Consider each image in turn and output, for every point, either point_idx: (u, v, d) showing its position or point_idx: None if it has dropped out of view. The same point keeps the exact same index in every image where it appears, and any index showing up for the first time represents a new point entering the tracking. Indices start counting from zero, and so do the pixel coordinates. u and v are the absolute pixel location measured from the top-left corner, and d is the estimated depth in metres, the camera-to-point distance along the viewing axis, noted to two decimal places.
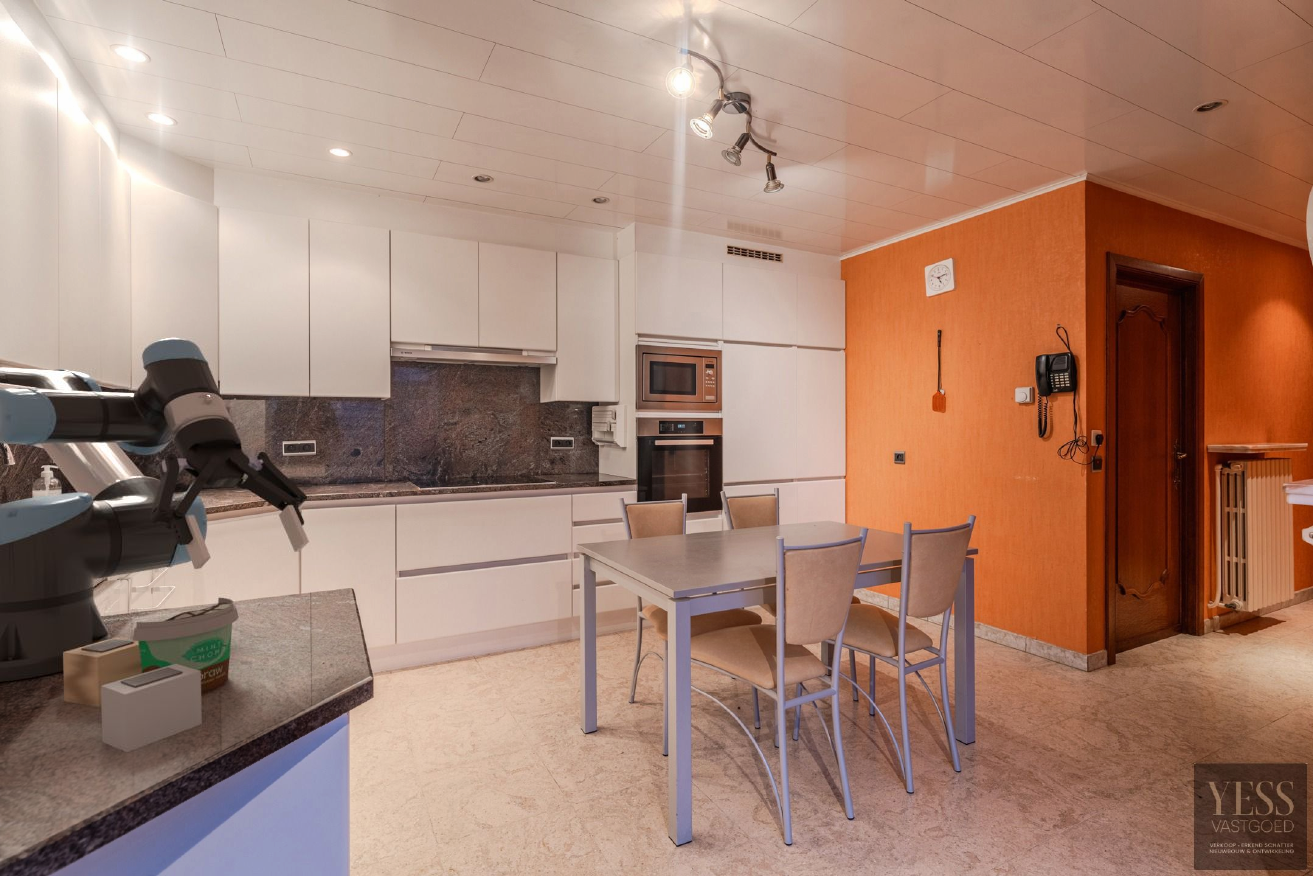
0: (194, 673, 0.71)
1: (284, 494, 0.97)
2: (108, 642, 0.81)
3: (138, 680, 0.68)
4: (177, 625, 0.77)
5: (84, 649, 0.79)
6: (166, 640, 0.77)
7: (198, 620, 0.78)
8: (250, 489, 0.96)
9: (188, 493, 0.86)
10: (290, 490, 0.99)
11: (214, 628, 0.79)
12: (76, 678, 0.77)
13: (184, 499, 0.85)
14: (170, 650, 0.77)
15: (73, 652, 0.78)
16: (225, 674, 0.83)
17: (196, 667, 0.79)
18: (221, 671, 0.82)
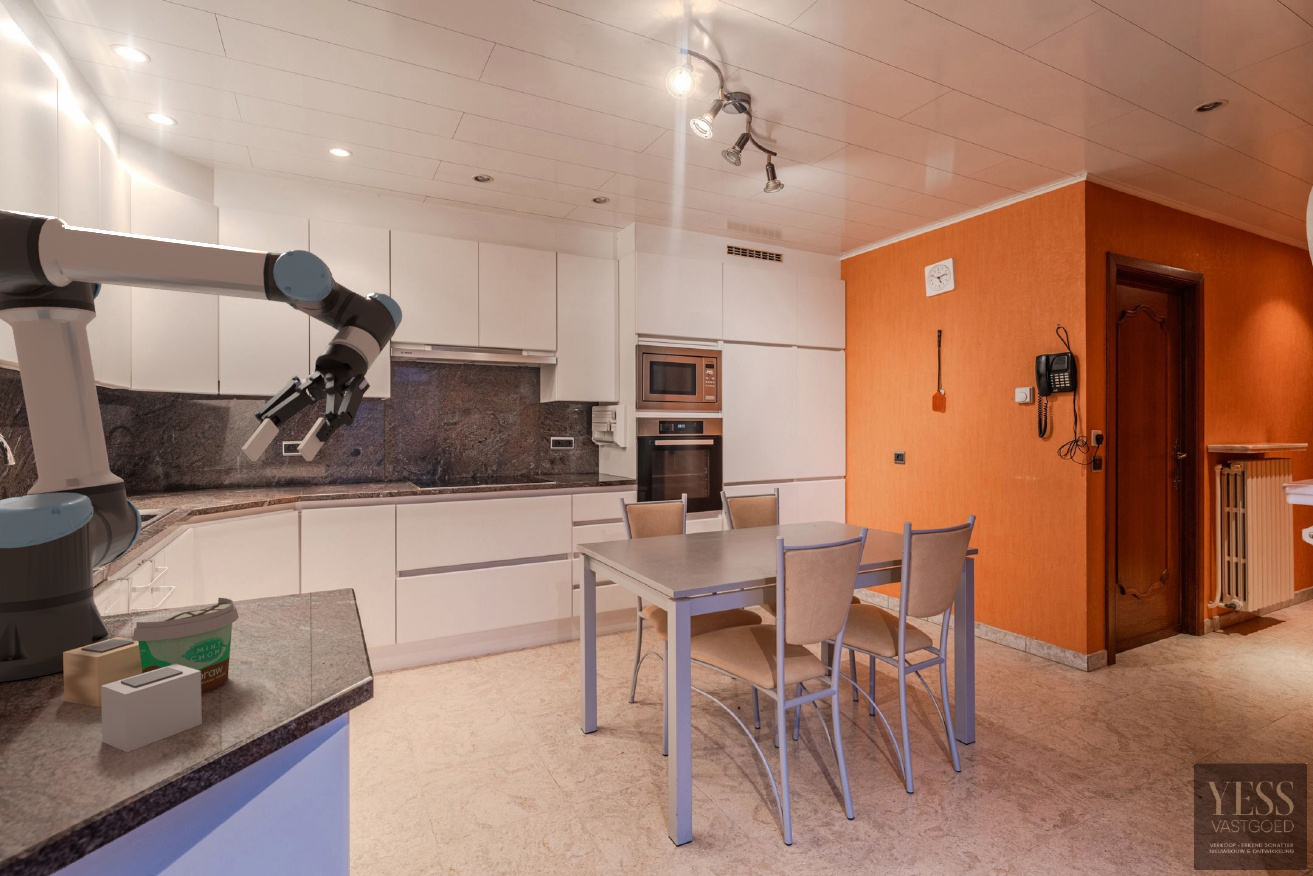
0: (194, 673, 0.71)
1: None
2: (108, 642, 0.81)
3: (138, 680, 0.68)
4: (177, 625, 0.77)
5: (84, 649, 0.79)
6: (166, 640, 0.77)
7: (198, 620, 0.78)
8: (298, 396, 1.04)
9: None
10: None
11: (214, 628, 0.79)
12: (76, 678, 0.77)
13: None
14: (170, 650, 0.77)
15: (73, 652, 0.78)
16: (225, 674, 0.83)
17: (196, 667, 0.79)
18: (221, 671, 0.82)
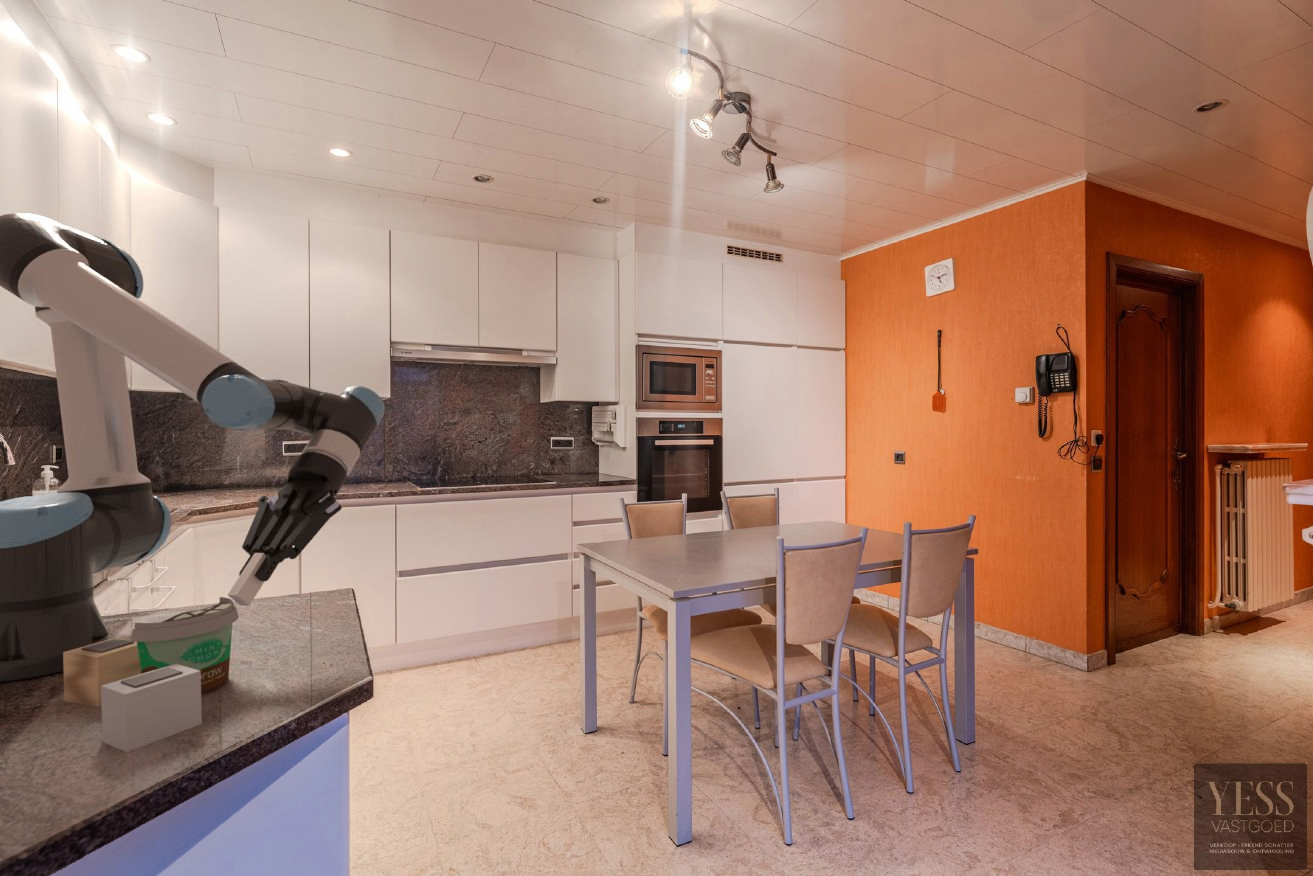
0: (194, 673, 0.71)
1: None
2: (108, 642, 0.81)
3: (138, 680, 0.68)
4: (175, 626, 0.76)
5: (84, 649, 0.79)
6: (164, 641, 0.76)
7: (196, 621, 0.78)
8: (280, 517, 0.93)
9: None
10: None
11: (212, 629, 0.79)
12: (76, 678, 0.77)
13: None
14: (168, 651, 0.77)
15: (73, 652, 0.78)
16: (225, 674, 0.82)
17: (194, 668, 0.78)
18: (220, 672, 0.81)
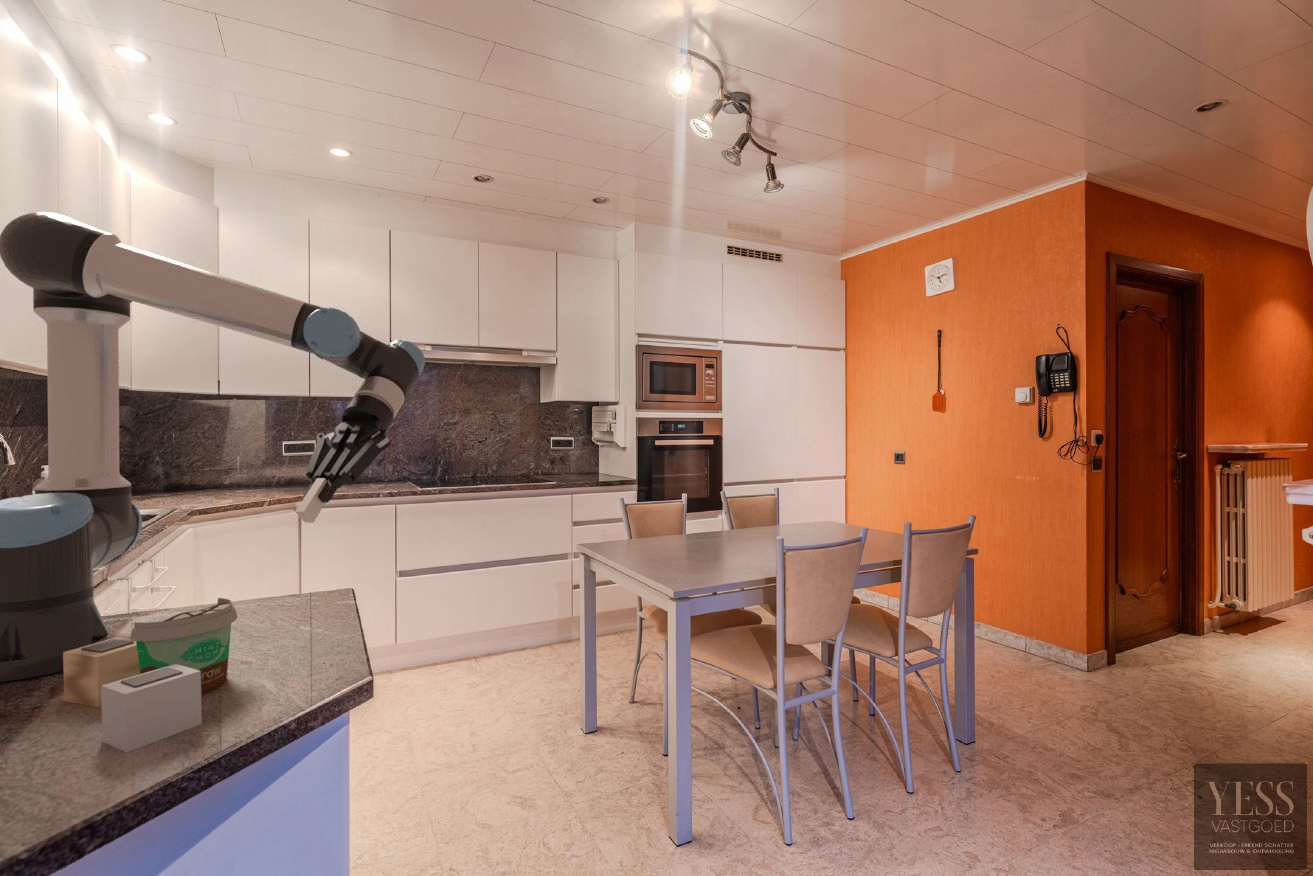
0: (194, 673, 0.71)
1: None
2: (108, 642, 0.81)
3: (138, 680, 0.68)
4: (175, 625, 0.77)
5: (84, 649, 0.79)
6: (164, 640, 0.76)
7: (196, 621, 0.78)
8: (337, 450, 1.05)
9: None
10: None
11: (212, 629, 0.79)
12: (76, 678, 0.77)
13: None
14: (168, 651, 0.77)
15: (73, 652, 0.78)
16: (224, 675, 0.82)
17: (194, 668, 0.78)
18: (219, 672, 0.81)
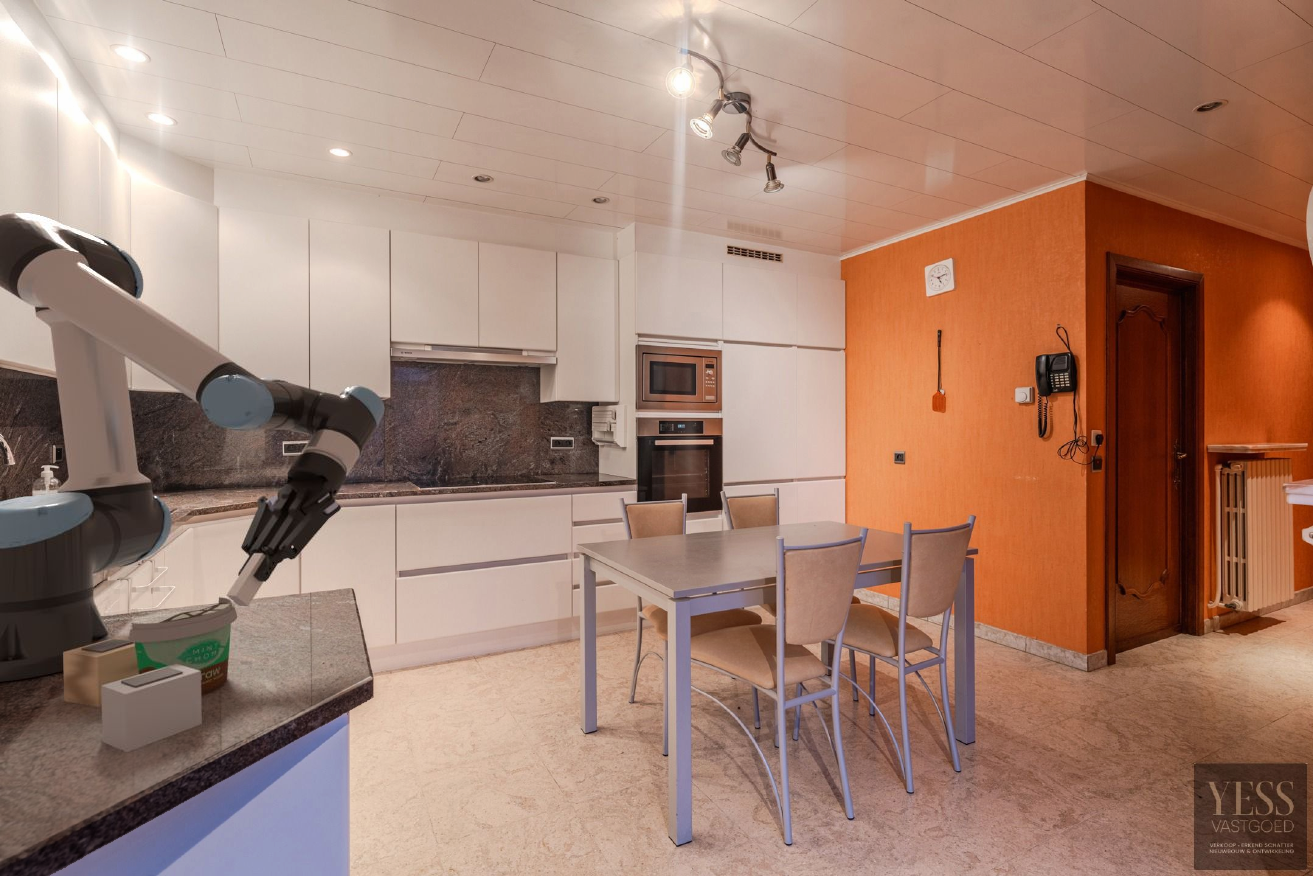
0: (194, 673, 0.71)
1: None
2: (108, 642, 0.81)
3: (138, 680, 0.68)
4: (172, 627, 0.76)
5: (84, 649, 0.79)
6: (161, 642, 0.76)
7: (193, 622, 0.78)
8: (280, 517, 0.93)
9: None
10: None
11: (210, 630, 0.79)
12: (76, 678, 0.77)
13: None
14: (165, 652, 0.76)
15: (73, 652, 0.78)
16: (223, 675, 0.82)
17: None
18: (219, 672, 0.81)
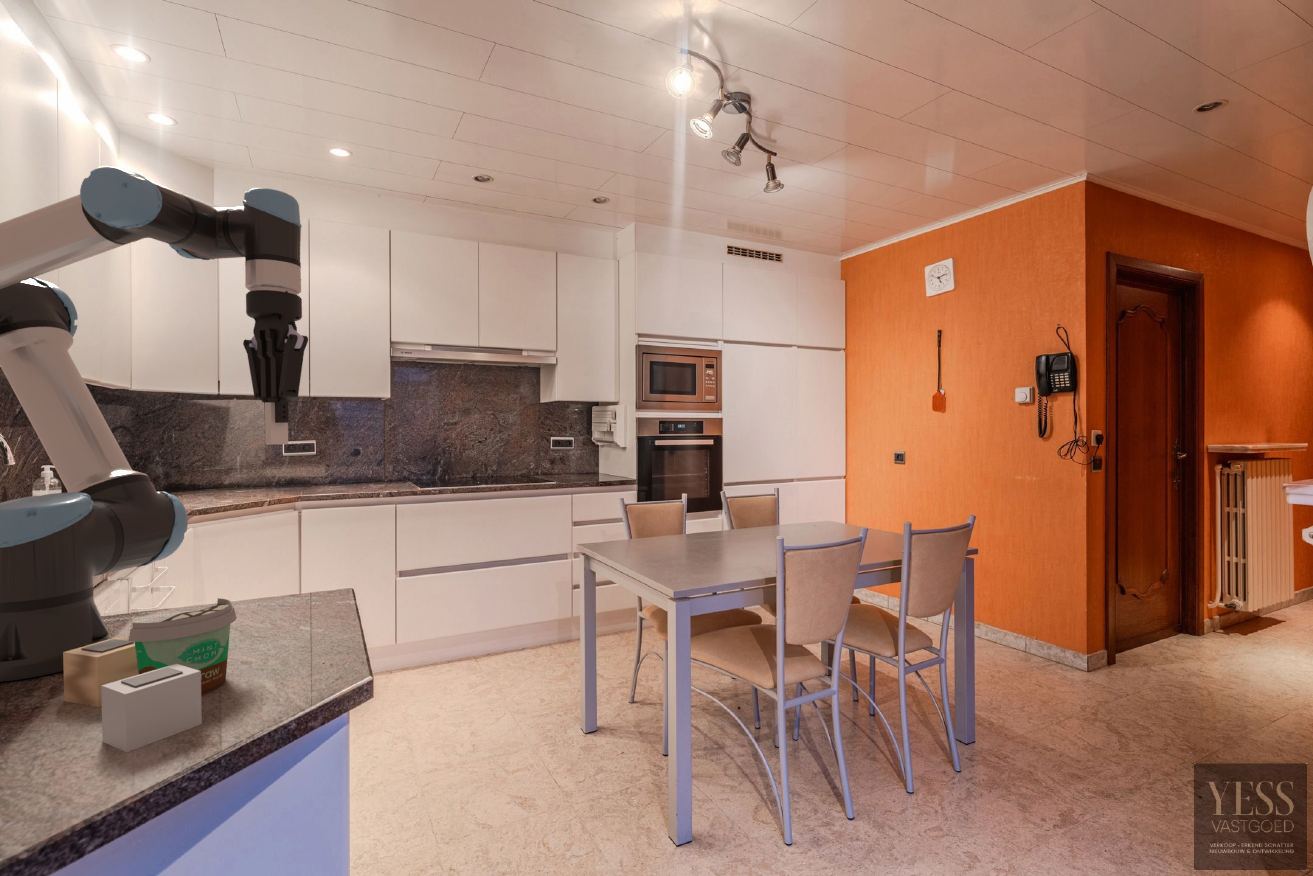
0: (194, 673, 0.71)
1: None
2: (108, 642, 0.81)
3: (138, 680, 0.68)
4: (173, 626, 0.76)
5: (84, 649, 0.79)
6: (162, 641, 0.76)
7: (194, 621, 0.78)
8: (266, 362, 1.00)
9: None
10: None
11: (210, 629, 0.79)
12: (76, 678, 0.77)
13: None
14: (166, 651, 0.76)
15: (73, 652, 0.78)
16: (223, 675, 0.82)
17: (192, 668, 0.78)
18: (218, 672, 0.81)
